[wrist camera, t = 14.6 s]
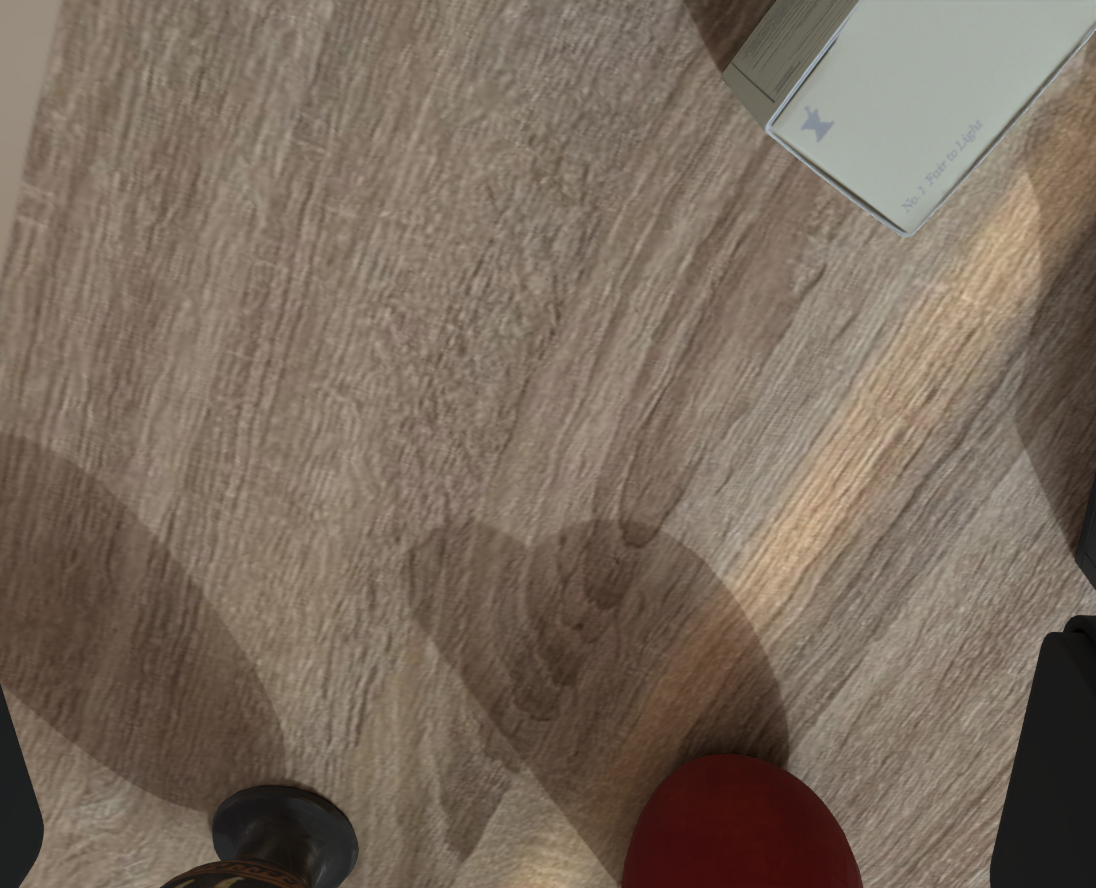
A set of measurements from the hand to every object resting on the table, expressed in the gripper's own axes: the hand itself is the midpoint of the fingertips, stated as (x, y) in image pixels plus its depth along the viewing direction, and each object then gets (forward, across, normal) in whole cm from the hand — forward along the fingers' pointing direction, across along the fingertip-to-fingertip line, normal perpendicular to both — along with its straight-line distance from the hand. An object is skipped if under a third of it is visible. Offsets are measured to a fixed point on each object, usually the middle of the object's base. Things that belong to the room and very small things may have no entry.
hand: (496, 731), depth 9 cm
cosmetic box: (+28, -7, -4) cm, 30 cm away
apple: (+28, -6, +28) cm, 40 cm away
